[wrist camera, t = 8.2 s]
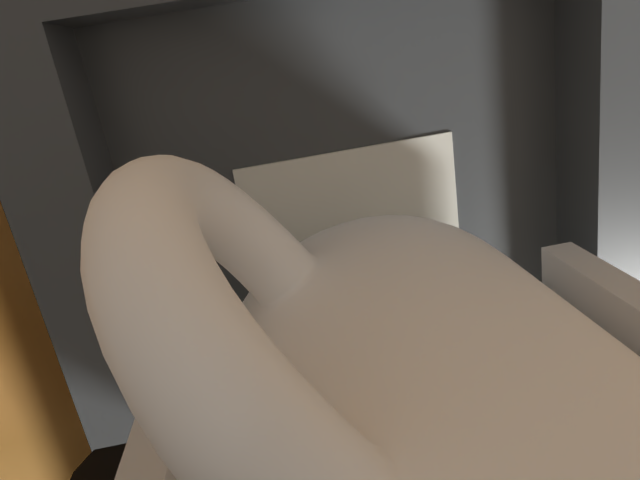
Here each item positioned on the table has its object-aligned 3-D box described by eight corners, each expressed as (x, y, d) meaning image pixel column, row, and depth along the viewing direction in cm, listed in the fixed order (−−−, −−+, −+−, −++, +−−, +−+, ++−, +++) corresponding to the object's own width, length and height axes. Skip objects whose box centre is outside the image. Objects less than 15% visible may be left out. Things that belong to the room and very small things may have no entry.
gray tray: (176, 563, 20) (163, 649, 17) (-23, -45, 13) (-100, -74, 10) (595, 472, 20) (650, 538, 18) (607, -138, 14) (697, -189, 11)
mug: (38, 236, 12) (-739, 875, 3) (319, -1, 12) (687, -335, 2) (348, 525, 16) (494, 1218, 6) (575, 363, 15) (1138, 883, 6)
